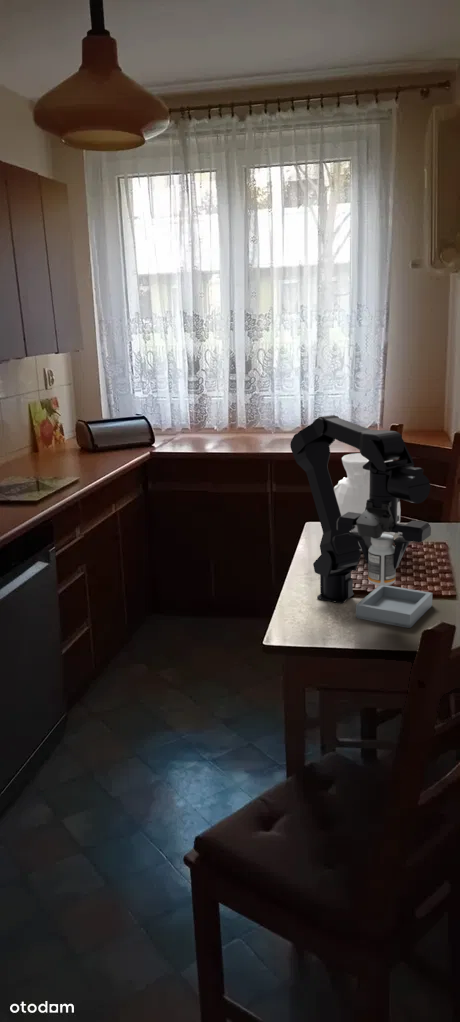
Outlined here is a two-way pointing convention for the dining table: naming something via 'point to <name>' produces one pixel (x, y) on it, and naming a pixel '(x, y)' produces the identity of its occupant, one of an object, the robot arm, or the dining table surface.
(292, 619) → the dining table surface
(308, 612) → the dining table surface
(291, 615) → the dining table surface
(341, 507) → the pitcher
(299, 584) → the dining table surface
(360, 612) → the tray
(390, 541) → the pill bottle
